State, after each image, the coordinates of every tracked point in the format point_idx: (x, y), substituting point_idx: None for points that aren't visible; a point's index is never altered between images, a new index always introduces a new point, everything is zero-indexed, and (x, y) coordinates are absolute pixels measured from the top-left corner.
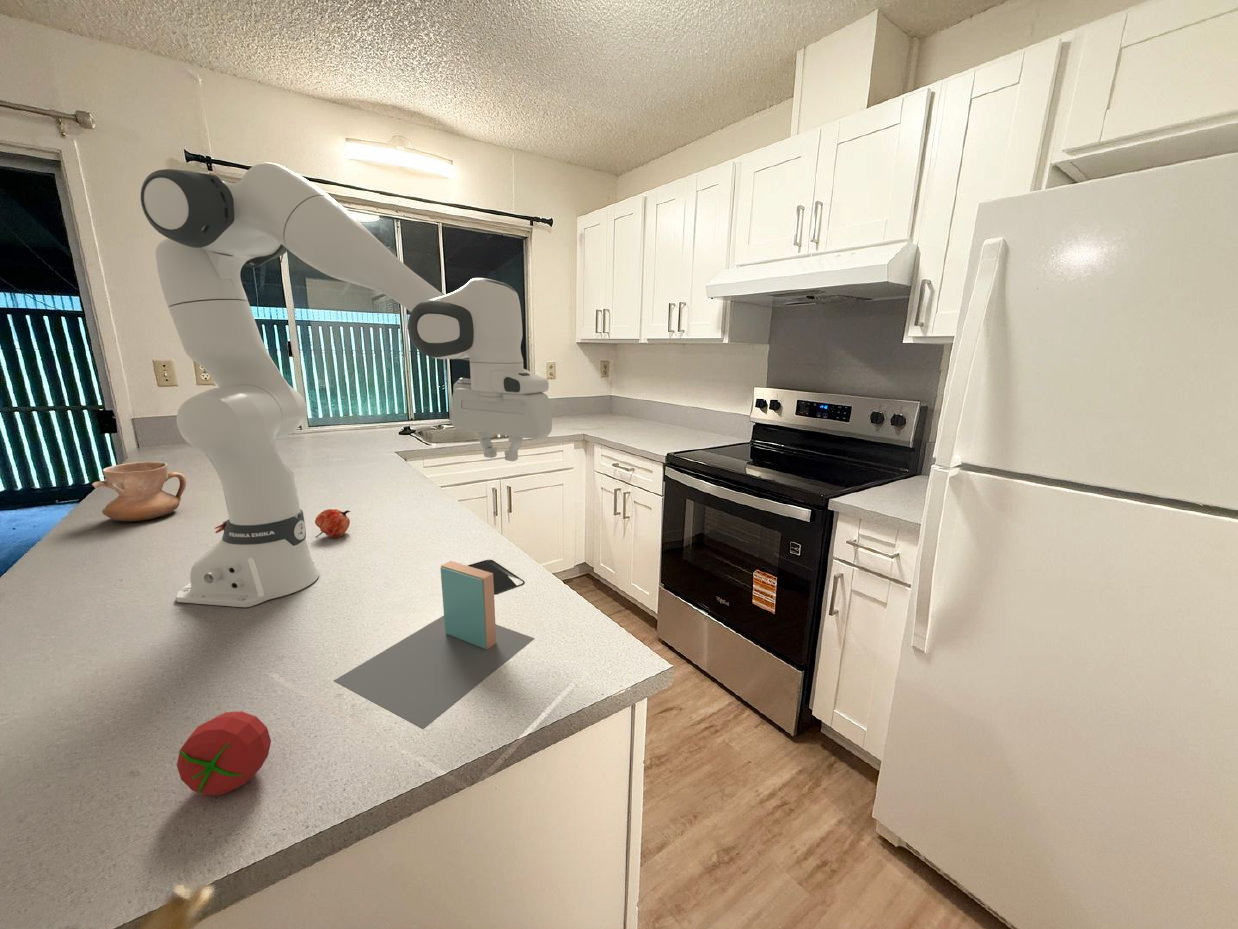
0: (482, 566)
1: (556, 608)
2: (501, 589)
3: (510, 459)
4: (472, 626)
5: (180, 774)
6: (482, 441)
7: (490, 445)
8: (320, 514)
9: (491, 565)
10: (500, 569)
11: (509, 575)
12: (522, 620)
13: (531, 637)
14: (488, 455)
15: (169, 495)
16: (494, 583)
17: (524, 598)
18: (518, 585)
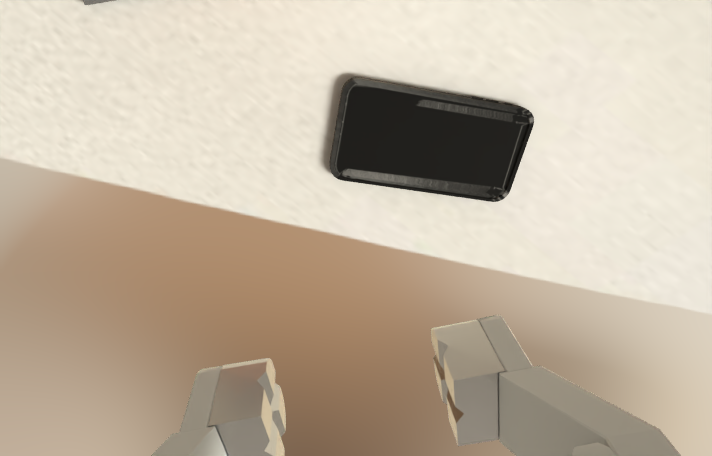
0: (491, 164)
1: (185, 148)
2: (351, 115)
3: (203, 372)
4: None
5: None
6: (569, 413)
7: (510, 431)
8: None
9: (475, 182)
10: (439, 182)
11: (395, 176)
12: (196, 54)
13: (93, 2)
14: (451, 331)
15: None
16: (392, 124)
17: (282, 130)
18: (333, 155)
